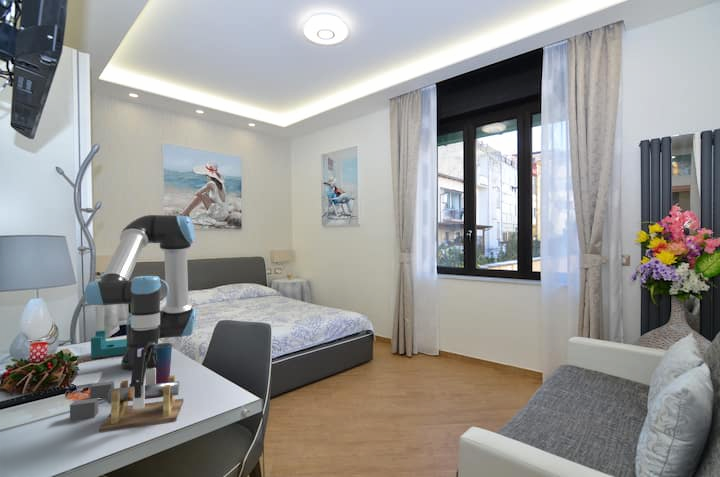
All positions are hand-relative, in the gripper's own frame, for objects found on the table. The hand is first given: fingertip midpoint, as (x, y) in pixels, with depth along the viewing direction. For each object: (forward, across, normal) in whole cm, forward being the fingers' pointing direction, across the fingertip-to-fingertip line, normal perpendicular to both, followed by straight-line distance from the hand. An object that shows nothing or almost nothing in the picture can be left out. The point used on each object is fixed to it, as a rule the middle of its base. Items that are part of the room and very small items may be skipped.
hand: (145, 398), depth 105 cm
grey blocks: (+5, -12, -17) cm, 21 cm away
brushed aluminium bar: (0, 0, 0) cm, 0 cm away
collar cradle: (+5, 0, 0) cm, 5 cm away
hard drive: (+6, -36, -28) cm, 46 cm away
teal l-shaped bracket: (+6, -72, -28) cm, 77 cm away
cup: (+5, -22, 0) cm, 23 cm away
